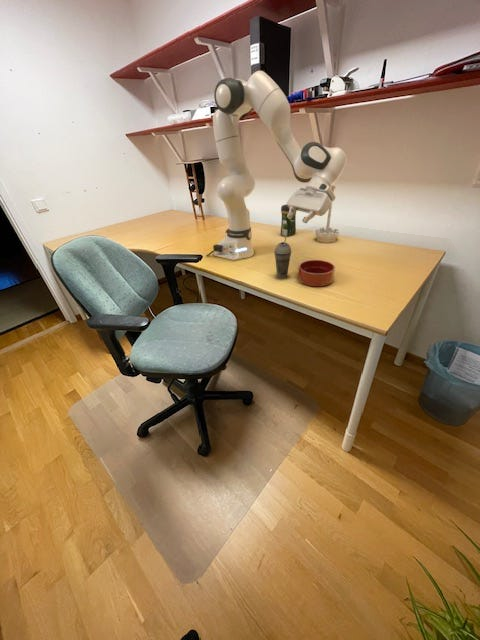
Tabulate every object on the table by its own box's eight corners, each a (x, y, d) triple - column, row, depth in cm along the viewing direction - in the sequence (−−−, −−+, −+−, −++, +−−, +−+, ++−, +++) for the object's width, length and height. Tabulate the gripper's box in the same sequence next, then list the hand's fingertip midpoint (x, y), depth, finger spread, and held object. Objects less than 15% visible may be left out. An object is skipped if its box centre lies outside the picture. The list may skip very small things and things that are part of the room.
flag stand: (342, 239, 151) (351, 182, 134) (328, 244, 145) (336, 185, 128) (324, 234, 160) (330, 181, 142) (310, 240, 154) (315, 184, 136)
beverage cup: (275, 272, 119) (276, 229, 108) (291, 273, 117) (293, 229, 106) (272, 279, 114) (273, 234, 102) (289, 280, 112) (291, 234, 100)
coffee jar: (288, 231, 170) (289, 201, 160) (297, 233, 165) (299, 202, 155) (278, 235, 166) (278, 204, 155) (287, 237, 160) (288, 205, 150)
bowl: (293, 284, 108) (294, 271, 105) (302, 270, 119) (303, 258, 116) (329, 289, 103) (332, 276, 99) (335, 274, 113) (337, 261, 110)
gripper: (295, 182, 108) (276, 211, 110) (332, 187, 93) (309, 219, 95) (302, 192, 112) (284, 220, 114) (339, 198, 97) (317, 229, 99)
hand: (296, 220), depth 104 cm, fingers open, 8 cm apart
